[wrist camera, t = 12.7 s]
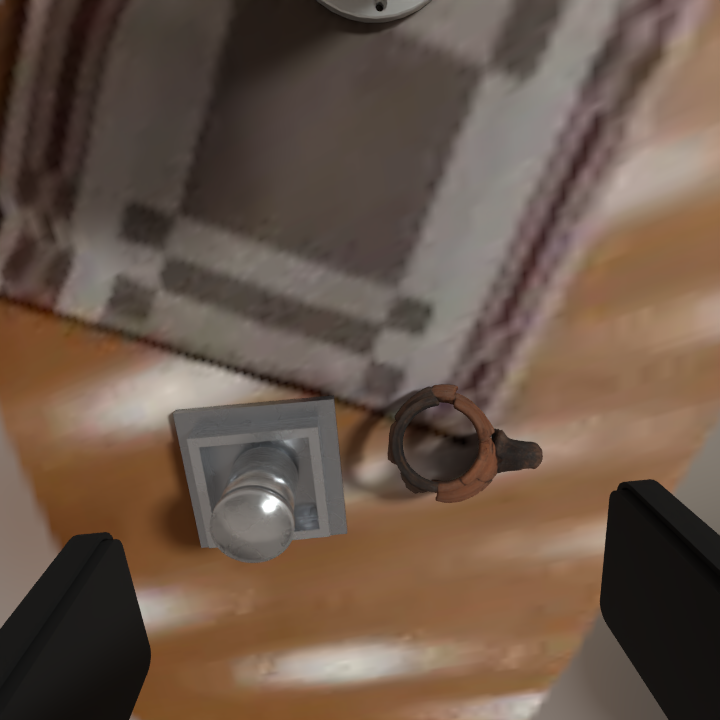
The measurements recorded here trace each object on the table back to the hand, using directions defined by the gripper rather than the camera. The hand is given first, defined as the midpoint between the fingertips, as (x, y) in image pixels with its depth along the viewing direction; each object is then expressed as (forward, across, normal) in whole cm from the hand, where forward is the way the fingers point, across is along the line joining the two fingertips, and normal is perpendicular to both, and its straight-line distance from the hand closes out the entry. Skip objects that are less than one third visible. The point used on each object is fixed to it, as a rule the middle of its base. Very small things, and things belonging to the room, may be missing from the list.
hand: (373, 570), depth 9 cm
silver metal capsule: (+30, +8, +15) cm, 34 cm away
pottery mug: (+31, -8, +13) cm, 34 cm away
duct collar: (+30, +8, +15) cm, 35 cm away
